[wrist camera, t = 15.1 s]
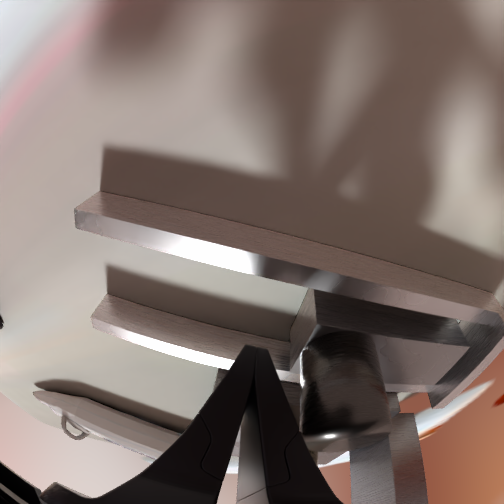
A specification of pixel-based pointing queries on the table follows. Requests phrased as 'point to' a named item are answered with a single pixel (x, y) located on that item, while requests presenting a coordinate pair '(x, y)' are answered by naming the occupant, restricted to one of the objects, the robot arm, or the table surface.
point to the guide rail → (286, 270)
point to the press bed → (375, 458)
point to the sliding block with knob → (362, 364)
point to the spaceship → (108, 424)
